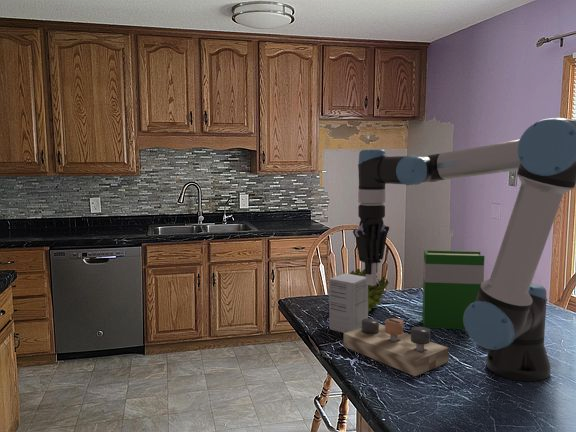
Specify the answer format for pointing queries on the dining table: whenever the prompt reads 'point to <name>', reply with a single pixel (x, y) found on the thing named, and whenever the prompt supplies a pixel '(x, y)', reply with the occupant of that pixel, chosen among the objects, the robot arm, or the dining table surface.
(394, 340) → the orange knob middle
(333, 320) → the supplement box
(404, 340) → the mount
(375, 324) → the black knob far
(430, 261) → the hardback book
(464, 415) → the dining table surface
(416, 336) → the black knob near
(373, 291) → the green leafy plant
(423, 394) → the dining table surface
